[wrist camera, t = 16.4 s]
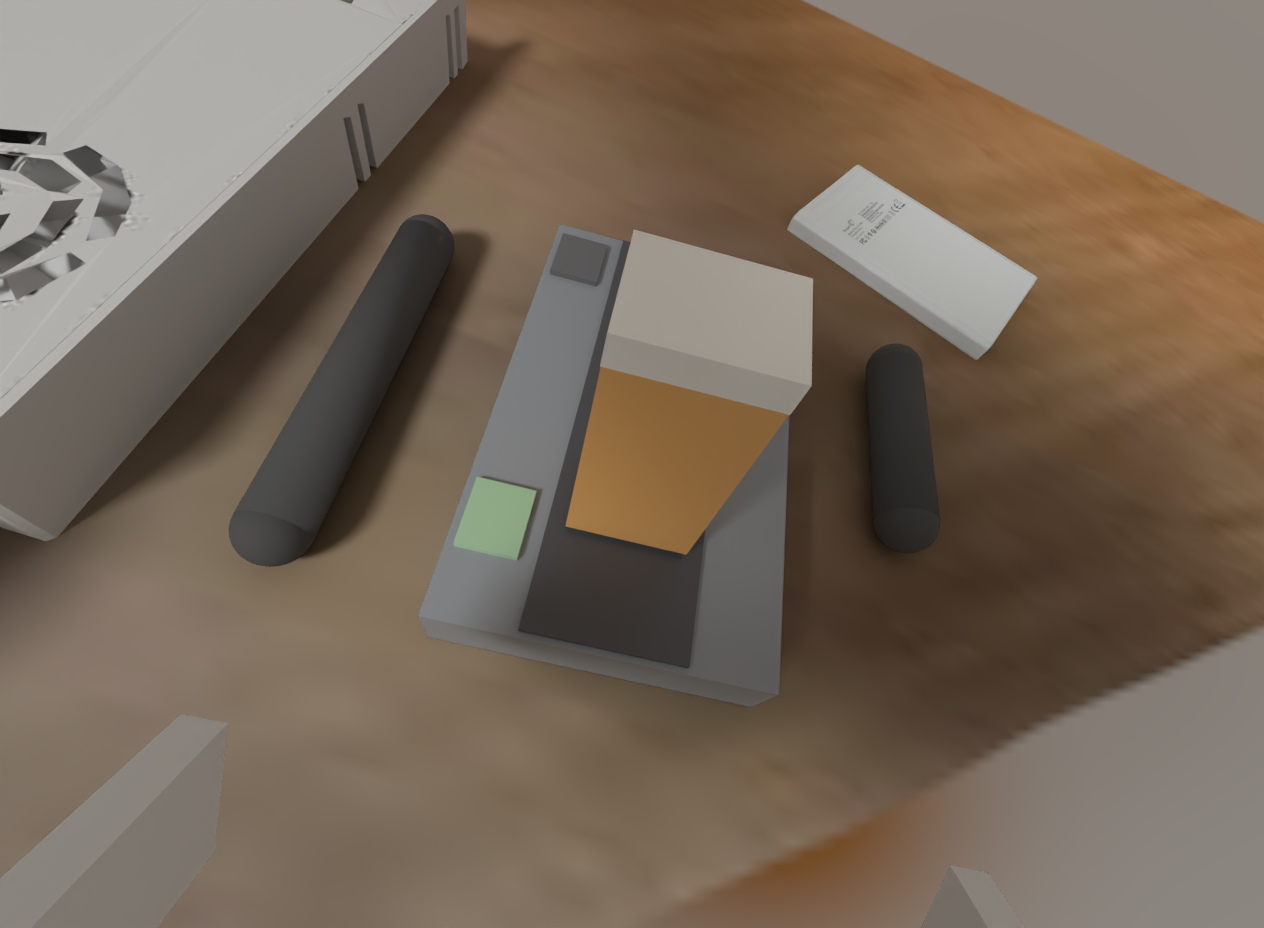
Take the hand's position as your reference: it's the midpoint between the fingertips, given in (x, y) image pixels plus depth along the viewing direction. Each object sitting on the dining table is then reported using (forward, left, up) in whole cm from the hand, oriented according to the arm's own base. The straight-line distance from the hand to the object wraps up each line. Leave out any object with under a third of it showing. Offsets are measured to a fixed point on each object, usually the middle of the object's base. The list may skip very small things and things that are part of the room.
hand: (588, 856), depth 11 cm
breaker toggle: (-8, +5, -5) cm, 11 cm away
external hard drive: (-20, +27, -9) cm, 35 cm away
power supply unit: (-32, -11, -9) cm, 35 cm away
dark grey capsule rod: (-9, +18, -8) cm, 21 cm away
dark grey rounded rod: (-17, -3, -8) cm, 19 cm away
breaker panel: (-12, +7, -8) cm, 16 cm away
